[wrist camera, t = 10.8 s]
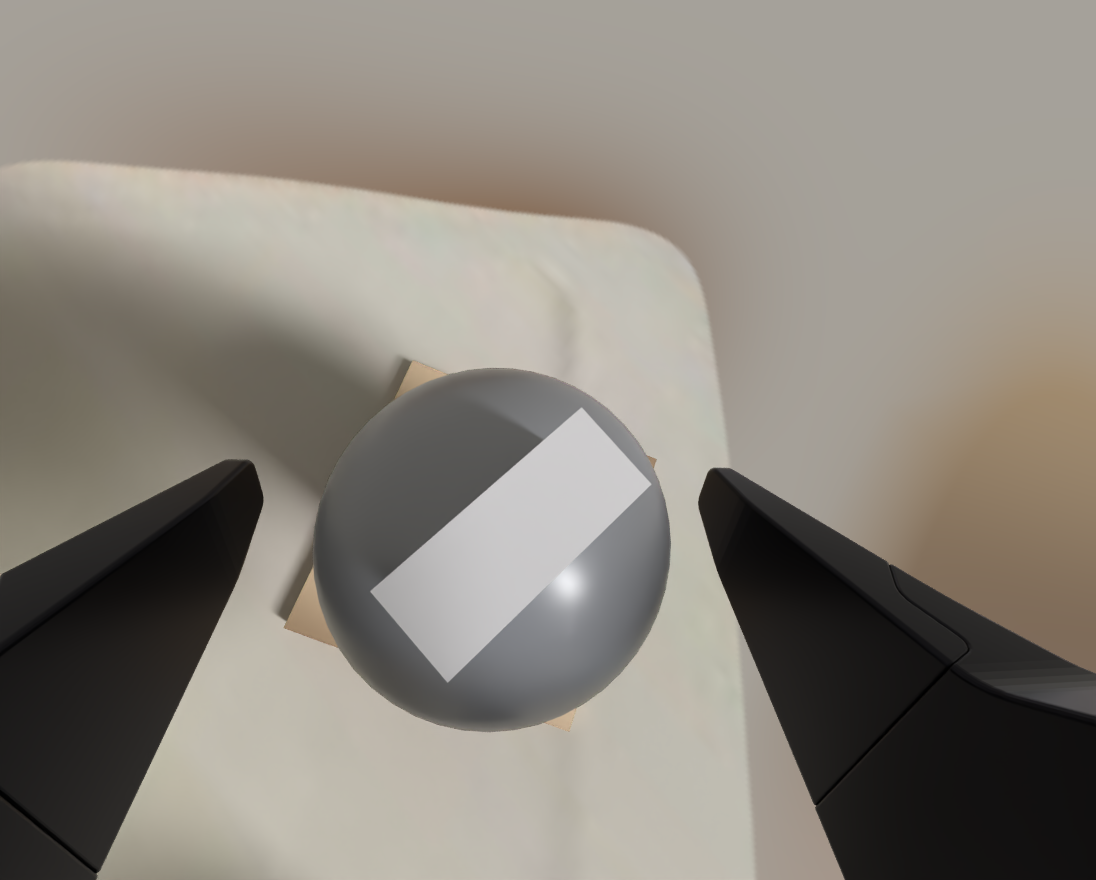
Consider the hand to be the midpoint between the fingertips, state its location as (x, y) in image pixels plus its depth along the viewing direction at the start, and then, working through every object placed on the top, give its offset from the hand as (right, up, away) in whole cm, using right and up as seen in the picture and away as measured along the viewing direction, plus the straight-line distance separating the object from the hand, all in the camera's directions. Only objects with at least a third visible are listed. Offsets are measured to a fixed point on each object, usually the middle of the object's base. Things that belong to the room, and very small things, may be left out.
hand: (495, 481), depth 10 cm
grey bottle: (-1, -3, +7) cm, 8 cm away
